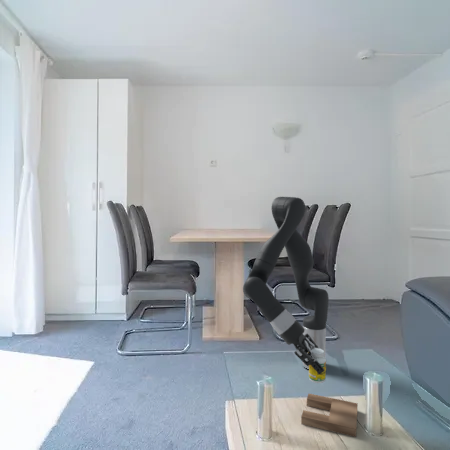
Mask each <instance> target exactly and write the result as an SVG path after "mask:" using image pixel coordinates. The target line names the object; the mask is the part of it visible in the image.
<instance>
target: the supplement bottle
mask: <svg viewBox="0 0 450 450" xmlns="http://www.w3.org/2000/svg"><path fill="white" fill-rule="evenodd" d="M312 352H313V356H314V358H315V359H316V360H317V361H318V363H319V364H320V365H321V366H322V367H323V368H324V372H322V373H321V374H318V373H317V371H316V370H315V369H314V368H313V367H312V366H311V365H309V370H308V379H309V381H311V382H312V383H315V384H323V383H324V382H325V381H326V376H327V359H326V356H325V357H324V351H323V350H322V349H319V348H314V349H312Z"/></svg>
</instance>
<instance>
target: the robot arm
mask: <svg viewBox="0 0 450 450" xmlns="http://www.w3.org/2000/svg"><path fill="white" fill-rule="evenodd" d="M271 213H272V217H273V219H274V222H275V224H276V227H277V231H276V232H275V233H274V234H272V235H271V237H269V238H268V239H267V240H266V241H265V242H264V244H262V246H261V247H260V250H259V252H258V254H257V256H256V258H255V261H254V263H253V266H252V269H251V270H250V272H249V274H248V276H247V277H246V279H245V281H244V284H243V287H242V292H243V294H244V295H243V296H245V297H246V298H247V299H249V300H252V302H253V303H254V304H255V305H256V306H257V307H258V308H259V311H260V313H261V314H262V316H263V317H265V319H266V320H267V322H269V324H270V325H271V327H272V328H273V329H274V331H275V332H276V333H277V334H278V335H279V337H280V338H282V340H283V341H284V342H285V343H286V345H289V346H290V345H291V344H292V345H293V346H294V348H295V351H294V355H295V356H297V358H298V359H299V360H300V361H302V362H301V363H303V365H304V366H305V367H306V368H307V369H309V365H311V366H312V367H313V368H314V369H315V370H316V371H317V373H318V374H321V373H322V372H324V368H323V367H322V366H321V365H320V364H319V363H318V361H317V360H316V359H315V358H314V356H313V352H312V349H314V348H319V349H322V350H323V351H324V357H325V358H326V341H327V339H326V338H327V337H326V336H327V335H326V333H327V332H326V331H327V321H328V310H329V299H330V298H329V293H328V291H327V290H326V289H324V288H318V287H315V286H311V284H310V282H309V277H310V276H309V275H310V274H311V272H312V270H313V267H314V263H315V260H314V256H313V253H312V249H311V246H310V245H309V243H308V242H307V240H306V239H305V238H304V237H303V235H301V233H300V232H299V231H298V229H297V228H298V226H299V225H300V223H301V222H302V221H303V218H304V216H305V213H306V203H305V202H304V200H303V199H302V198H301V197H295V196H277V197H275V198H274V199H273V201H272V203H271ZM284 249H285V251H286V255H287V259H288V262H289V265H290V268H291V271H292V274H293V278H294V282H295V286H296V291H297V296H298V301H299V304H300V306H301V307H302V308H304V309H307V310H311V311H314V314H313V315H308V316H305V317H304V318H303V320H302V324H301V323H300V322H299V321H298V320H297V319H296V318H295V317H294V315H293V314H292V313H291V312H289V310H288V309H287V308H285V306H284V305H283V304H282V303H281V302H280V301H279V300H278V299H277V298H276V297H275V295H274V293H273V292H272V291H271V289H270V288H269V287H268V285H267V283H268V281H269V278H270V276H271V274H272V273H273V271H274V269H275V267H276V265H277V262H278V260H279V258H280V256H281V254H282V252H283V250H284ZM307 369H306V370H307Z"/></svg>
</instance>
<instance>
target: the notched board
mask: <svg viewBox="0 0 450 450" xmlns="http://www.w3.org/2000/svg"><path fill="white" fill-rule="evenodd" d="M306 406H307V407H311V408H316V409H319V410H320V409H321V410H324V411H329V415H327V414H322V413H318V412H315V411H314V412H313V411H309V410H304V409H303V410H302V414H301V420H300V422H301V425H305V426H308V427H313V428H316V429H317V428H318V429H320V430H325V431H329V432H333V433H338V434H343V435H346V436H350V437H355V438H356V437H357V423H358V422H357V421H358V408H359V407H358V403H357V402H352V401H349V400H348V401H347V400H343V399H342V400H341V399H338V398H332V397H329V396H323V395H318V394H315V393H308V394H307V397H306Z"/></svg>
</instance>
